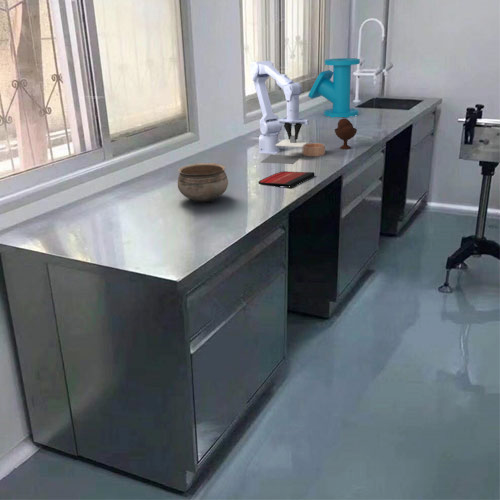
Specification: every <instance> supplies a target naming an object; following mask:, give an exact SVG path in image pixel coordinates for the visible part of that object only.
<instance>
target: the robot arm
mask: <svg viewBox="0 0 500 500" xmlns="http://www.w3.org/2000/svg"><path fill="white" fill-rule="evenodd" d="M249 72H250V76H251V79H252V81H253V85H254V89H255V93H256V96H257V99H258V103H259V104H258V105H259V107H260V111H261V114H262V117H261V118H260V120H259V121H258V122H259V130H260V132H261V134H259V138H258V154H274V155H278V153H280V151H282V150H281V149H280V148H279V147H280V146H276V144H277V143H279V135H280V134H281V132H282V130H283V129H282V128H283V127H284V129H285V131H286V134H287V137H288V140H290V136H291V135H292V128H293V127H294V128H293V129H294V136H295V140H299V133H300V130H301V128H302V126H303V125H309V119H305V118H300V95H301V94H302V89H303V88H302V86H301V83H300V82H298V81H297V82H295V81H293V80H292V79H290V77H289V76H288V74H286V73H284V74H282V73H281V72H279V70H277V69H276V67H275V66H274V62H272V61H271V60H261V61H252V62H251V64H250V67H249ZM270 77H271V78H272V79H274V80H275V82H276V85H277V86H278V87H279V88H280V89H281V90H283V94H284V96H285V97H284V98H285V100H286V118H279V116H278V115H276V114H275V113H274V112H273V107H272V105H271V104H272V103H271V99H270V96H269V93H268V89H267V84H266V81H267V80H268V79H269V78H270ZM282 124H283V125H282ZM292 126H293V127H292Z"/></svg>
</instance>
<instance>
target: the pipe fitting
mask: <svg viewBox="0 0 500 500" xmlns="http://www.w3.org/2000/svg"><path fill="white" fill-rule="evenodd" d="M360 62H361V59H360V58H356V57H355V58H352V57H351V58H350V57H349V58H348V57H343V58H339V57H338V58H337V57H336V58H328V59H324V65H325V66H332V67H333V68H332V70H333V71H332V70H331V69H327V70H324V71H323V70H322V71H321V72H320V73H319V74H318V76H317V77H316V79H315V81H314V83H313V85H312V87H311V89H310V90H309V92H308V98H310V99H315V98H319V97H321V96H322V97H323V98H325V100H326V99H327V101H329V102H330V103H332V108H328V109H325V110H324V112H323V115H326V116H325V117H327V116H330V117H329V118H334V117H345V118H350V117H349V116H354V117H356V116H355V115H357V116H359V109H356V108H351V76H352V75H351V73H352V71H351V70H352V69H351V68H352V66H353V65H354V66H356V65H360V64H361V63H360ZM332 77H333V78H332ZM331 79H333V80H331Z"/></svg>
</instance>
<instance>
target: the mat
mask: <svg viewBox="0 0 500 500" xmlns="http://www.w3.org/2000/svg"><path fill="white" fill-rule="evenodd" d="M301 158H303V155H290V154H289V155H286V154H285V155H284V154H282V155H280V154H270V155H268V156H267V157H265V158H264V159H263V160H261V161H260V163H263V164H279V165H280V164H281V165H294V164H296V162H297V161H299V160H300V159H301Z"/></svg>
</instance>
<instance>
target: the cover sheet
mask: <svg viewBox="0 0 500 500" xmlns="http://www.w3.org/2000/svg"><path fill="white" fill-rule="evenodd" d="M309 143H311V140H308V139H297V140H295V135H293V134H291V136H290V140H289V139H282V140H281V141H278V143H277V144H276V146H279V147H296V148H297V147H298V148H299V147H302V148H303V146H305V145H306V144H309Z"/></svg>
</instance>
